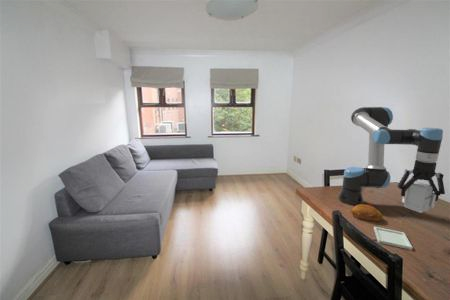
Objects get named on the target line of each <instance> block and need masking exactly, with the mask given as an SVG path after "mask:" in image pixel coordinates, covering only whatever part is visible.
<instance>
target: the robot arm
mask: <svg viewBox="0 0 450 300" xmlns="http://www.w3.org/2000/svg"><path fill="white" fill-rule="evenodd" d="M393 119H394V113H393V111H392V109H390V108H389V107H385V106H384V107H383V106H373V107H372V106H370V107H368V106H365V107H364V106H363V107H359V108H357V109H355V110H354V111H353V112H352V114H351V116H350V120H351V122H352V124H353V125H354V126H356V127H360V128H362V129H363V130H365V132H366V133H368V154H367V155H368V158H367V165H366V166H365V169H364V168H362V167H358V166H349V167H346V168H345V169H344V171H343V178H342V188H341V190H340V192H339V194H338V198H339V199H340V200H341V201H340V200H339V199H338V200H339V201H340V202H341V203H344V204H346V203H347V205H350V204H351V206H356V205H358V204H364V196H363V192H362V191H363V188H370V189H371V188H372V189H374V188H375V189H384V188H385V189H386V188H387V187H388V186H389V185H390V182H391V174H390V172H389V171H388V170H387V168H386V167H385V165H384V161H385V145H407V146H408V145H409V146H410V145H412V146H416V147H417V149H416V155H415V161H414V166H413V169H412V170H410V169H409V170H408V169H404V174H403V175H402V177H401V179H400V180H399V182H398V184H397V188H398V189H399V190H401V191H400V195H401V197H402V199H401V202H402V203H403V204H404V205H405V204H406V198H407V193H408V191H407V189H408V188H409V187H410V186H411V185H412V184H413V183H414V182H418V180H419V181H426V182H428V185H431V186H432V187H433V194H432V199H431V203H430V208H433V209H434V207H435V202H437V201H439V200H438V199H439V196H441V195H445V194H446V190H445V186H444V176H445V175H444V174H443V173H441V172H436V170H437V169H436V168H437V162H438V160H439V159H438V158H439V155H440V151H441V150H440V149H441V146H442V140H443V134H444V130H443V129H442V128H438V127H436V128H435V127H422V128H421V130H419V129H416V128H407V129H391V128H389V125H391V123H392V122H393ZM410 175H412V176H411V178H409V176H410ZM434 177H435V178H436V181H437V186H438V188H437V186H436V185H435V183H434V180H433V178H434ZM408 179H409V180H408Z"/></svg>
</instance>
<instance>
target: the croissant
mask: <svg viewBox="0 0 450 300" xmlns="http://www.w3.org/2000/svg"><path fill="white" fill-rule="evenodd" d="M350 213H351V215H352V216H353V217H355V218H358V219H361V220H367V221H370V222H371V221H372V222H379V221H381V220H382V219H383V214H382V212H380V210H378V209H376V208H375V207H374V206H373V205H370V204H364V203H363V204H358V205H354V206H353V208H352V209H351V210H350Z"/></svg>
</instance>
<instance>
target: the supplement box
mask: <svg viewBox="0 0 450 300" xmlns="http://www.w3.org/2000/svg"><path fill="white" fill-rule="evenodd" d="M407 191H408V193H407V198H406V204H405V203H404V205H403V206H404V208H406V209H409V210H412V211H414V212H417V213H420V214H422V213H424V212H427V211H429V210H430V208H431V206H430V203H431V199H432V194H433V193H434V191H433V187H432V186H431V185H430V184H429V183H424V182H419V181H415V182H414V183H413V184H412V185H411V186H410V187H409V188H408V189H407Z"/></svg>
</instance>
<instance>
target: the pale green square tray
mask: <svg viewBox="0 0 450 300" xmlns="http://www.w3.org/2000/svg"><path fill="white" fill-rule="evenodd" d="M373 231H374V234H375V237H376V240H377V242H378V243H379V244H384V245H387V246H392V247H396V248H400V249H401V248H402V249H406V250H410V251H413V245H412V244H411V242H410V240H409V239H408V236H407V234H406V233H405V232H404V231H403V232H402V231H398V230H394V229H388V228H383V227H379V226H373Z"/></svg>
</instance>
